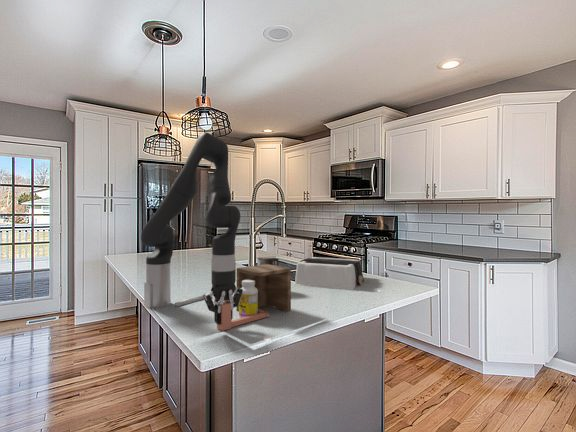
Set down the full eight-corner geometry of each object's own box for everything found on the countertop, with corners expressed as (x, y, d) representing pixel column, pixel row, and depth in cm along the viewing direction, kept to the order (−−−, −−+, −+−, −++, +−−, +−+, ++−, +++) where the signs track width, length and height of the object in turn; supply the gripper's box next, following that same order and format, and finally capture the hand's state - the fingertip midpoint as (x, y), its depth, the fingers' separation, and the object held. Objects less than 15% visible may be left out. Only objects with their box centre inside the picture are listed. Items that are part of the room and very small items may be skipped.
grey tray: (367, 281, 182) (367, 258, 182) (357, 294, 152) (357, 267, 152) (308, 276, 195) (308, 255, 195) (287, 287, 165) (287, 263, 165)
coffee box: (276, 290, 158) (276, 257, 158) (279, 293, 152) (279, 258, 152) (257, 291, 155) (257, 257, 155) (259, 294, 149) (259, 259, 149)
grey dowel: (175, 307, 130) (178, 305, 129) (174, 303, 130) (176, 301, 129) (205, 299, 143) (208, 297, 142) (204, 295, 144) (206, 293, 143)
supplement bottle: (235, 315, 117) (235, 280, 117) (252, 313, 121) (252, 278, 121) (243, 321, 112) (244, 283, 112) (260, 317, 115) (261, 281, 115)
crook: (222, 330, 102) (222, 305, 102) (208, 324, 108) (208, 300, 108) (270, 316, 115) (269, 294, 115) (255, 312, 121) (255, 290, 121)
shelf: (259, 319, 113) (259, 272, 113) (236, 310, 123) (236, 268, 123) (290, 311, 124) (290, 268, 123) (267, 303, 134) (267, 264, 134)
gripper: (210, 272, 96) (210, 331, 96) (248, 267, 106) (248, 320, 106) (197, 269, 102) (197, 324, 102) (235, 264, 111) (235, 315, 112)
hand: (223, 322), depth 104 cm, fingers closed on crook, 3 cm apart
